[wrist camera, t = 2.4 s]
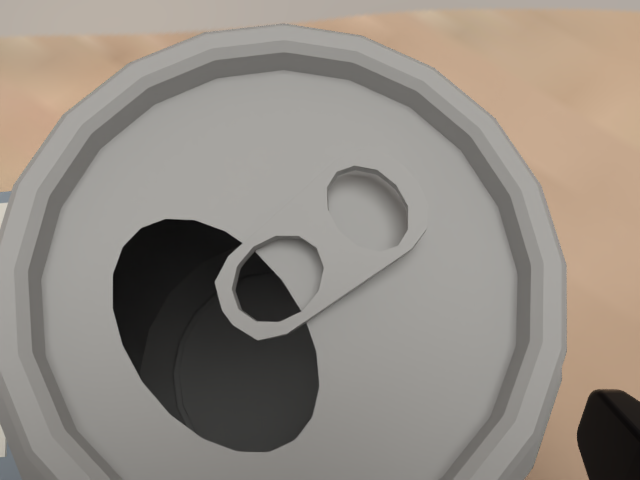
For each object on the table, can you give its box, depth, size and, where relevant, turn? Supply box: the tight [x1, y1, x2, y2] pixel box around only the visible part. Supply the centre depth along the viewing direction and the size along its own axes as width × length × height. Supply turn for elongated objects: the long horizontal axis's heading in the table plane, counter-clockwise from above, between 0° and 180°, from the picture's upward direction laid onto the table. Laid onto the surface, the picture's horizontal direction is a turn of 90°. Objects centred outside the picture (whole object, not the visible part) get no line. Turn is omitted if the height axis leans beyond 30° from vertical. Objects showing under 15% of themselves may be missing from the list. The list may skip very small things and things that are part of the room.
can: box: [0, 24, 567, 480], centre depth 12 cm, size 8×8×12 cm
